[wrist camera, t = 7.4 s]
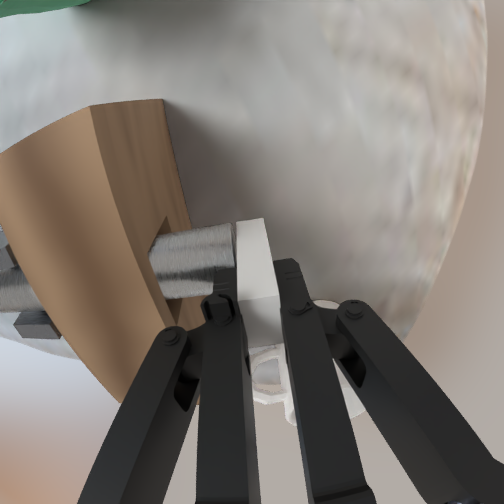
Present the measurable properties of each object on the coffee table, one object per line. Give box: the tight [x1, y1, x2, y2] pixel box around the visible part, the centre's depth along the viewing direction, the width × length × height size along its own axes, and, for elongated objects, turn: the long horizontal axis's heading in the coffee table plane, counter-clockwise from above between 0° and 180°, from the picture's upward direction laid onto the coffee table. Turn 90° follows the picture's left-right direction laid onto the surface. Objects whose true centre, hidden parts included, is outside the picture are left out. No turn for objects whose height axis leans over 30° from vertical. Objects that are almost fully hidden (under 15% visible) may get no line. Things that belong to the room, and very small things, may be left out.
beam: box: [0, 99, 208, 405], centre depth 16 cm, size 7×18×10 cm, turn 8°
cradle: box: [0, 231, 62, 339], centre depth 18 cm, size 5×8×8 cm, turn 8°
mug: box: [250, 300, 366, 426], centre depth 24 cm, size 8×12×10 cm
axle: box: [0, 223, 237, 313], centre depth 15 cm, size 20×4×4 cm, turn 98°
